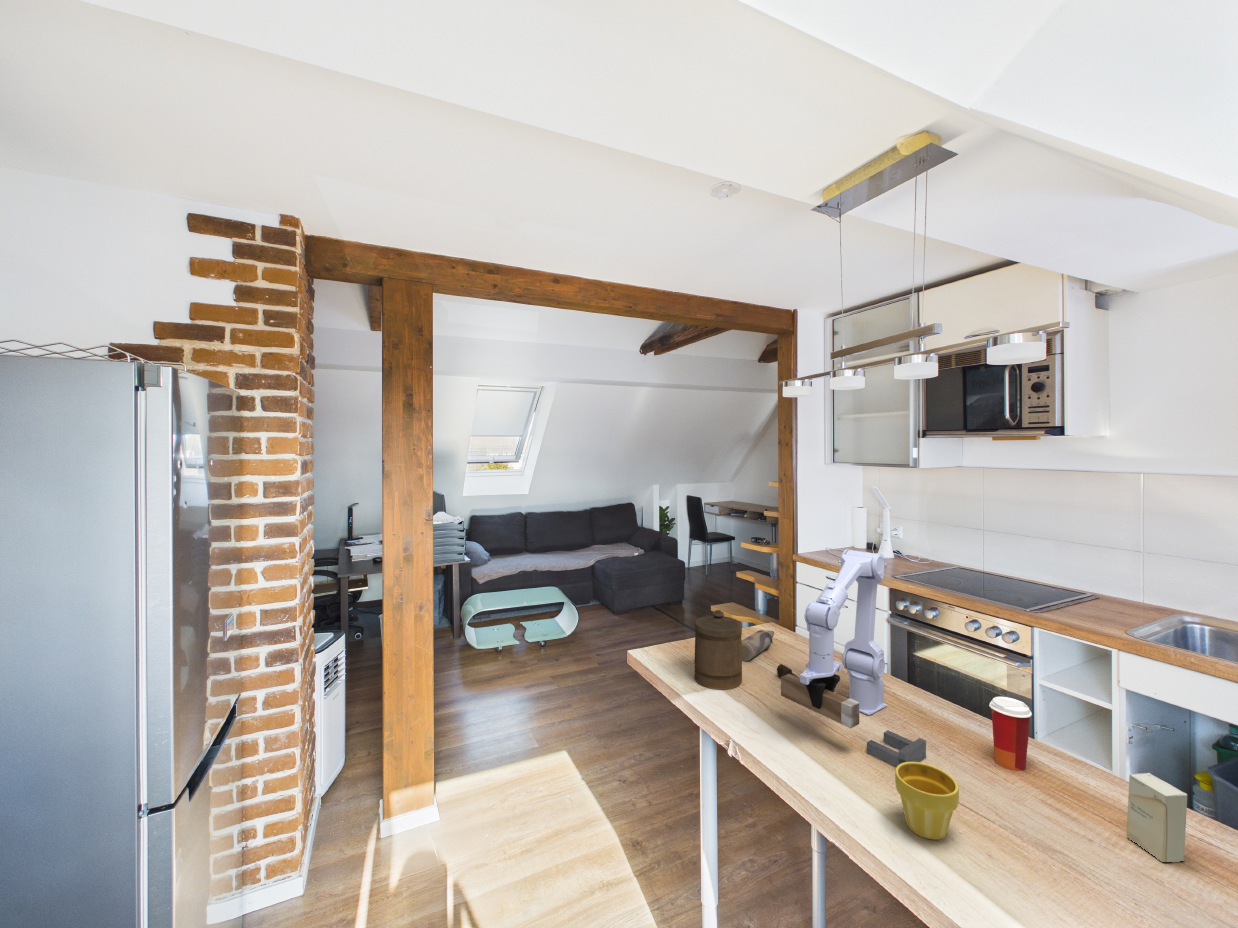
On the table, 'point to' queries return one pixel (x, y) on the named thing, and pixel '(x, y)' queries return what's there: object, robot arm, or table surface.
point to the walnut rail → (831, 705)
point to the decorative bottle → (756, 644)
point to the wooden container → (718, 651)
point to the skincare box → (1157, 817)
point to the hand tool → (784, 671)
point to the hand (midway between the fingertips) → (821, 704)
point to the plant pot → (926, 798)
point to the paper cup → (1010, 732)
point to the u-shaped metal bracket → (907, 749)
